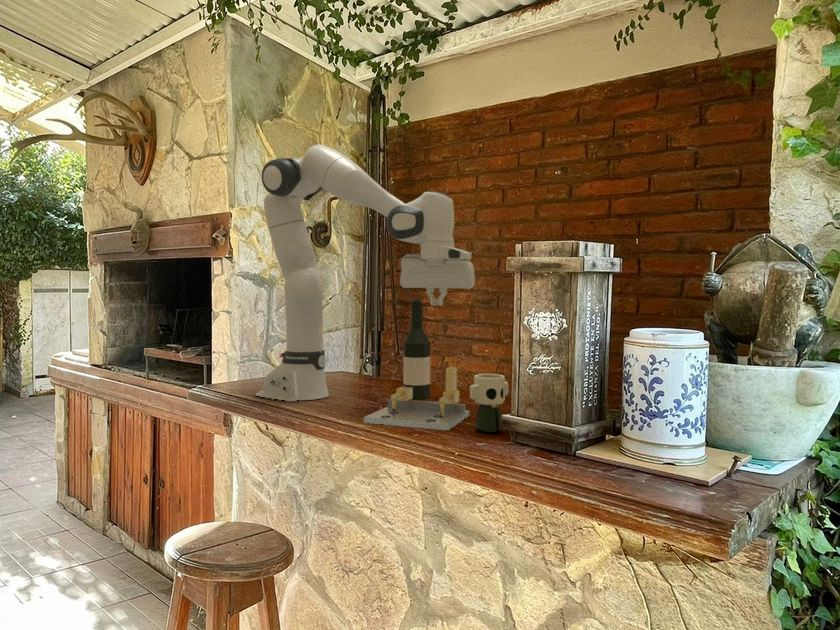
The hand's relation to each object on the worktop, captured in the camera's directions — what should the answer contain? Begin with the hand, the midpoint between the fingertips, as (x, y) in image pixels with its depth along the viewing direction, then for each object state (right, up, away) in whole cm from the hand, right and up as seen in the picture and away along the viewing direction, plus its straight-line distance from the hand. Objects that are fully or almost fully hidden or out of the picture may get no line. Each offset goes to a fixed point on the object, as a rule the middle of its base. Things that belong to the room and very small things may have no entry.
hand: (436, 305), depth 160 cm
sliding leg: (+3, -27, -8) cm, 28 cm away
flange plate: (-5, -29, -7) cm, 30 cm away
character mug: (+12, -30, -20) cm, 38 cm away
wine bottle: (-5, -28, +24) cm, 37 cm away
